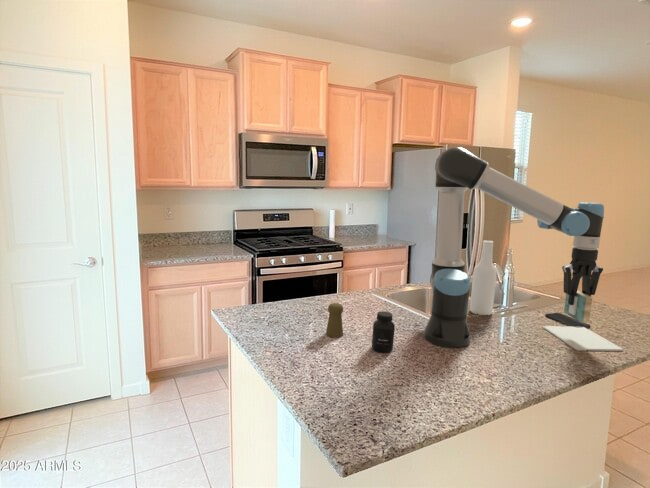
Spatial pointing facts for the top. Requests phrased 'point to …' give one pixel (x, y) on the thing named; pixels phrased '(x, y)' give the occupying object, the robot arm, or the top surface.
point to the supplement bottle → (383, 333)
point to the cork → (335, 321)
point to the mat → (582, 338)
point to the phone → (566, 320)
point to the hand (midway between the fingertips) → (576, 313)
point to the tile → (580, 307)
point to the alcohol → (484, 282)
